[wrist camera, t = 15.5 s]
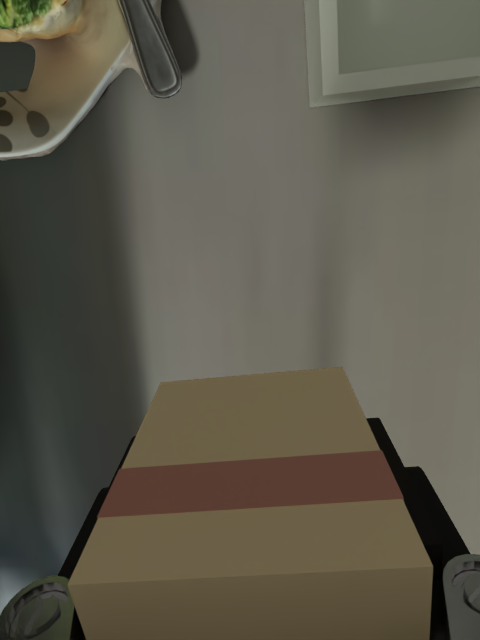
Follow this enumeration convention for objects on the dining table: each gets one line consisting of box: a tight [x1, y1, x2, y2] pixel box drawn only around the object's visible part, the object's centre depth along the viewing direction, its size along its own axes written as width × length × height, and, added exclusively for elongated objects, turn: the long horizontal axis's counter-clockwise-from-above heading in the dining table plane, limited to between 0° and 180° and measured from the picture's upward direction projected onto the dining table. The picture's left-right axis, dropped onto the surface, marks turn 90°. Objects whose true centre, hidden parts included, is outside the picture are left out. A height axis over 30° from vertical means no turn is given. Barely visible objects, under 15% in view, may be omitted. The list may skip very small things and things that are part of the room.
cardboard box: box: [68, 367, 433, 640], centre depth 9 cm, size 5×5×6 cm
